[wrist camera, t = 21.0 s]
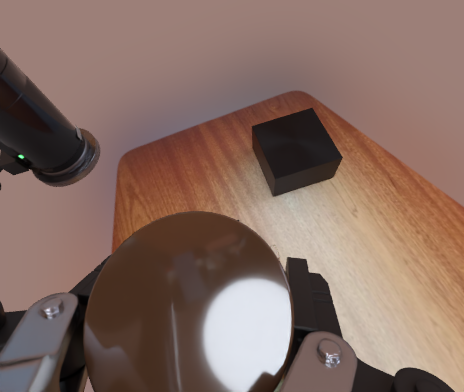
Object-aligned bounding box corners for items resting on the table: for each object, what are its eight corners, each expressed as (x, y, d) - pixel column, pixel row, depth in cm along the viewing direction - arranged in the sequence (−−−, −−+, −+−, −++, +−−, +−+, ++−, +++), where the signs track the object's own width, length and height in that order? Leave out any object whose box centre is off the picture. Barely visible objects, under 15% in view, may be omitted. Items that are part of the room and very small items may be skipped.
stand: (273, 196, 37) (275, 179, 33) (252, 147, 41) (251, 126, 37) (333, 177, 38) (342, 157, 33) (306, 130, 42) (312, 107, 37)
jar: (188, 392, 14) (86, 491, 6) (168, 284, 16) (77, 242, 8) (290, 355, 14) (335, 399, 6) (255, 255, 16) (252, 187, 8)
